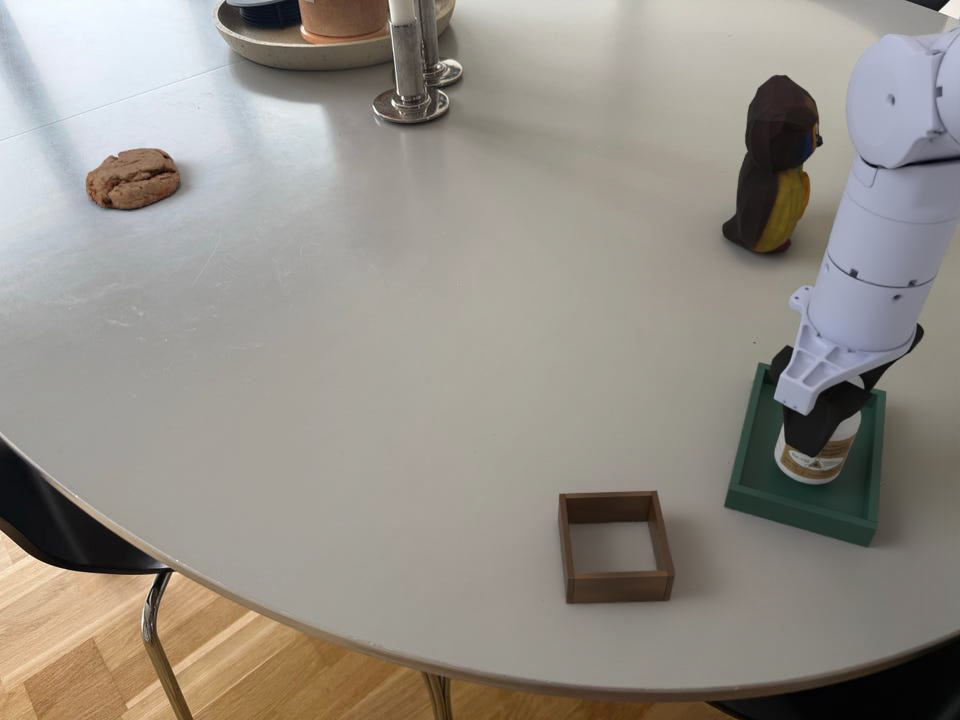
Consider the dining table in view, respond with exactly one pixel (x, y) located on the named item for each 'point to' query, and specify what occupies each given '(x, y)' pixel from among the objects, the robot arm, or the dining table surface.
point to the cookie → (133, 179)
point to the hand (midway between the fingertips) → (820, 426)
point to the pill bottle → (827, 459)
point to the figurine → (774, 166)
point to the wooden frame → (615, 583)
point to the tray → (814, 507)
